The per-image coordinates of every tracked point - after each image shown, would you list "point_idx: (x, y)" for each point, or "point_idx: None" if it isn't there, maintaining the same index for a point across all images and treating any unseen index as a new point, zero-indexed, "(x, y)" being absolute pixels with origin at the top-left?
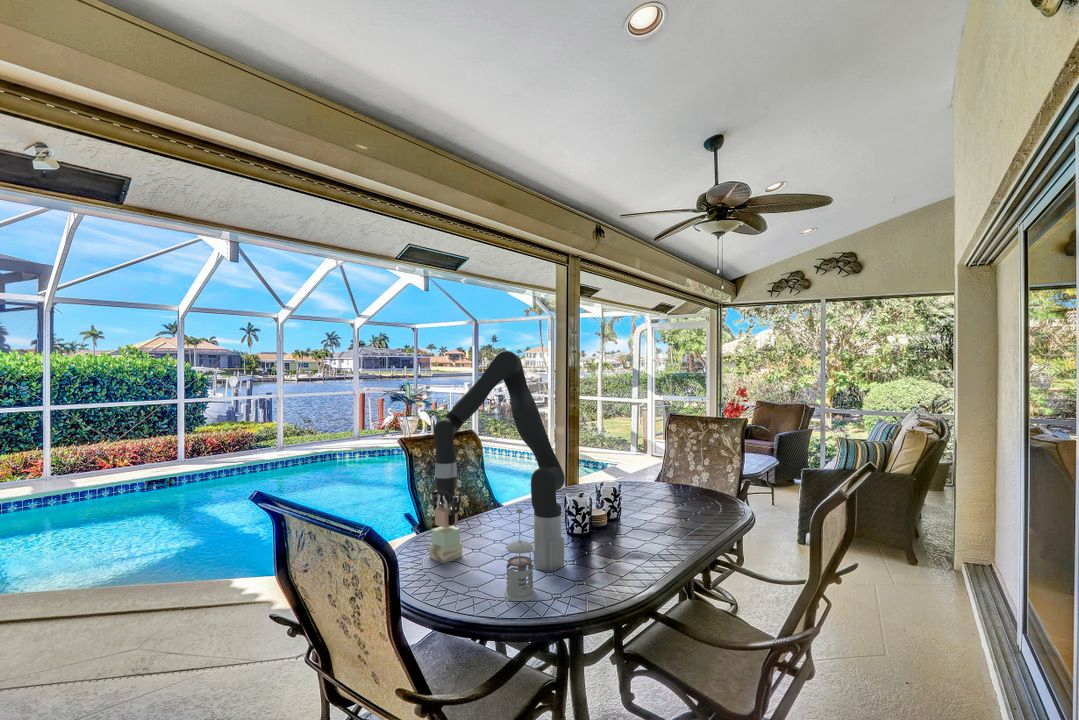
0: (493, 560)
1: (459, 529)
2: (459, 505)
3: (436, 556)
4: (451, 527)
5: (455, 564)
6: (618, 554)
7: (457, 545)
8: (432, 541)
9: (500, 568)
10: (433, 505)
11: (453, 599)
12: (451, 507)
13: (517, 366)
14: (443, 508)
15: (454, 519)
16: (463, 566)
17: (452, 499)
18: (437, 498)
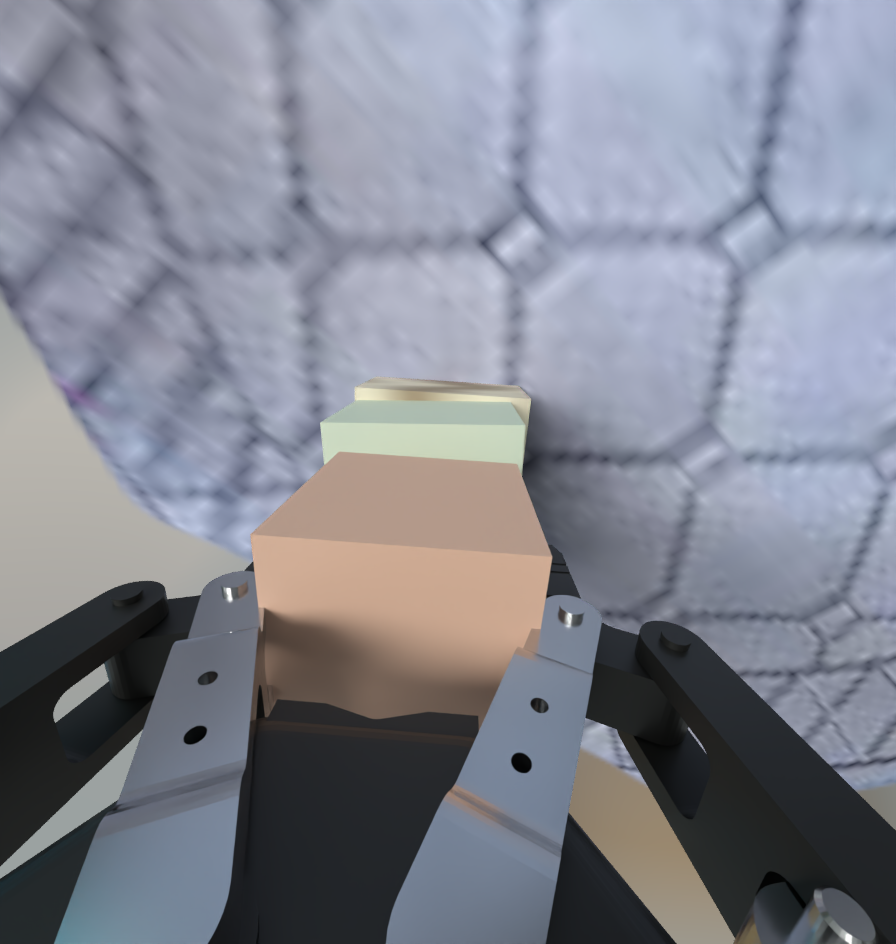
0: (741, 302)
1: (524, 430)
2: (811, 764)
3: None
4: (431, 456)
5: (568, 488)
6: None
7: (525, 442)
8: None
9: (851, 370)
10: (114, 702)
11: (805, 713)
12: (405, 569)
13: None
14: (347, 676)
15: (566, 576)
16: (626, 480)
17: (616, 914)
18: (4, 775)
